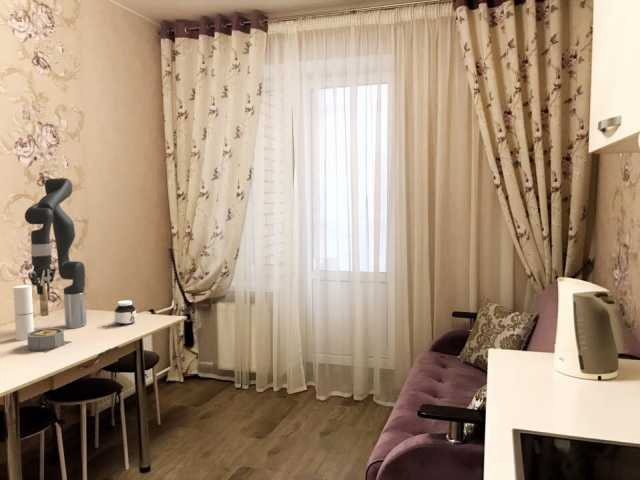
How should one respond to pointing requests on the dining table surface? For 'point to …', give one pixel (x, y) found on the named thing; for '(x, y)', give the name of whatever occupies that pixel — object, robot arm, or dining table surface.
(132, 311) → the spread jar
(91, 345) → the dining table surface
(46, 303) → the wick
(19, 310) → the cylindrical container
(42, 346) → the grey octagonal bowl
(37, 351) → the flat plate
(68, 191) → the robot arm
